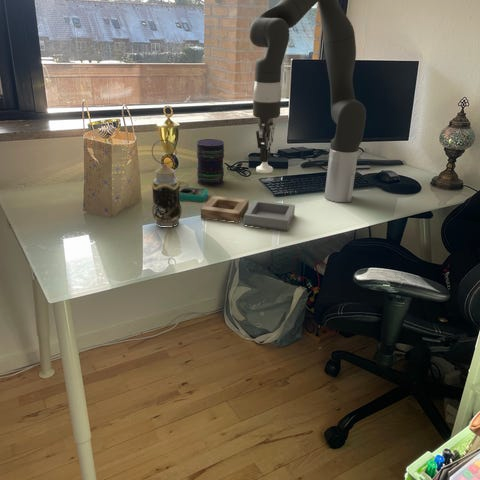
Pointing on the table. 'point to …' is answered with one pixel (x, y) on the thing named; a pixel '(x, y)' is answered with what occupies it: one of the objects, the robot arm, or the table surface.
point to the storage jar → (210, 162)
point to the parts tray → (269, 215)
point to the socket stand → (225, 208)
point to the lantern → (166, 195)
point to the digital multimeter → (193, 194)
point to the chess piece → (264, 167)
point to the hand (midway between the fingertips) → (265, 160)
